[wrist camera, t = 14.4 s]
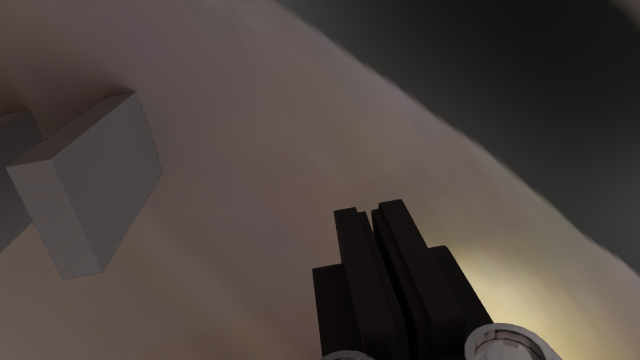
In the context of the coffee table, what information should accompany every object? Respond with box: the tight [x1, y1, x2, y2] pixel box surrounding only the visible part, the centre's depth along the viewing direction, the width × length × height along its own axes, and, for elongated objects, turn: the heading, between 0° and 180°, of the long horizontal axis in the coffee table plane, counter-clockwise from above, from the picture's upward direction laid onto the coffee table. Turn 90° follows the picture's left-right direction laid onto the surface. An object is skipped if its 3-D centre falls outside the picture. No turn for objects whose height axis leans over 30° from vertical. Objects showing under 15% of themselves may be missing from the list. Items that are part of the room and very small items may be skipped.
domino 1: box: [6, 92, 163, 280], centre depth 21 cm, size 2×5×10 cm, turn 9°
